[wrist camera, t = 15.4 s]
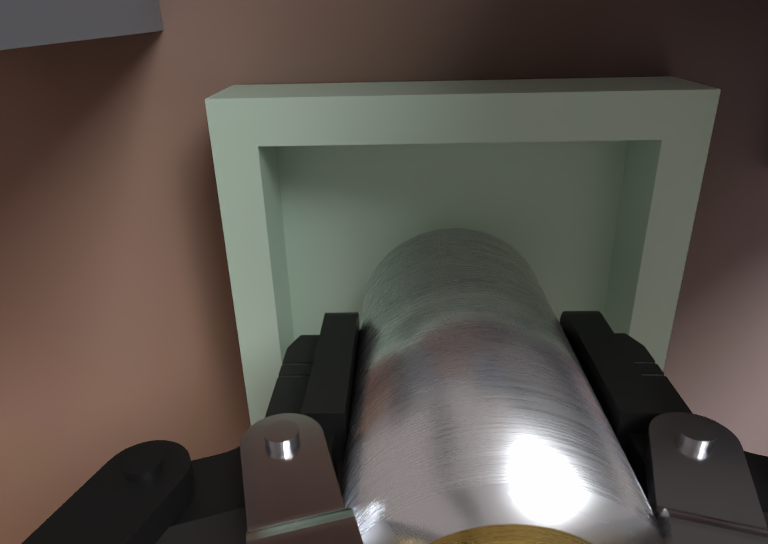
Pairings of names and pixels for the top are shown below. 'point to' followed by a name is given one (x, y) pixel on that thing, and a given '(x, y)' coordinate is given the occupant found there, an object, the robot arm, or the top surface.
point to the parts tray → (456, 194)
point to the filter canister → (478, 410)
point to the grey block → (74, 20)
